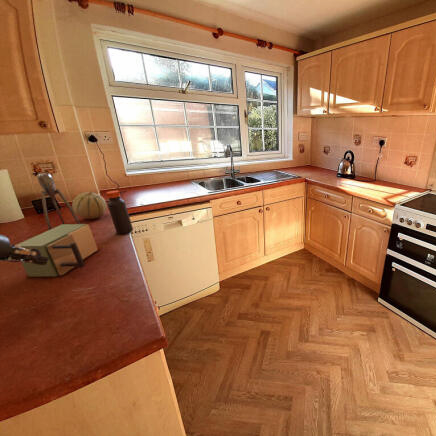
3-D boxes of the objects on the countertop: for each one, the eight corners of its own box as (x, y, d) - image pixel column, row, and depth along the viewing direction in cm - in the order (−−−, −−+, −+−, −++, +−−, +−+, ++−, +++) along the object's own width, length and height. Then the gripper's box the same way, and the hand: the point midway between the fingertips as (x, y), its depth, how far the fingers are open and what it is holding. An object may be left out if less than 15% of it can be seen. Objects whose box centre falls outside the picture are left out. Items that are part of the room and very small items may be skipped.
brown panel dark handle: (59, 275, 84) (45, 245, 80) (81, 261, 92) (69, 233, 88) (83, 275, 84) (71, 245, 79) (103, 261, 92) (92, 233, 88)
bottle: (127, 228, 122) (115, 189, 114) (136, 229, 119) (124, 190, 112) (113, 233, 116) (99, 193, 109) (123, 235, 114) (109, 194, 106)
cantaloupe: (84, 215, 141) (75, 190, 135) (113, 211, 145) (105, 187, 139) (72, 224, 128) (61, 197, 122) (104, 220, 132) (95, 194, 126)
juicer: (84, 233, 117) (60, 171, 106) (53, 241, 109) (24, 176, 98) (81, 228, 123) (58, 169, 112) (51, 235, 116) (24, 173, 104)
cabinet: (28, 276, 85) (12, 246, 80) (72, 250, 101) (61, 224, 97) (58, 276, 84) (44, 245, 80) (98, 250, 101) (88, 224, 96)
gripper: (6, 228, 57) (71, 248, 73) (-47, 229, 58) (28, 249, 74) (-9, 260, 54) (62, 274, 70) (-65, 260, 55) (18, 274, 71)
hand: (44, 261), depth 72 cm, fingers closed
